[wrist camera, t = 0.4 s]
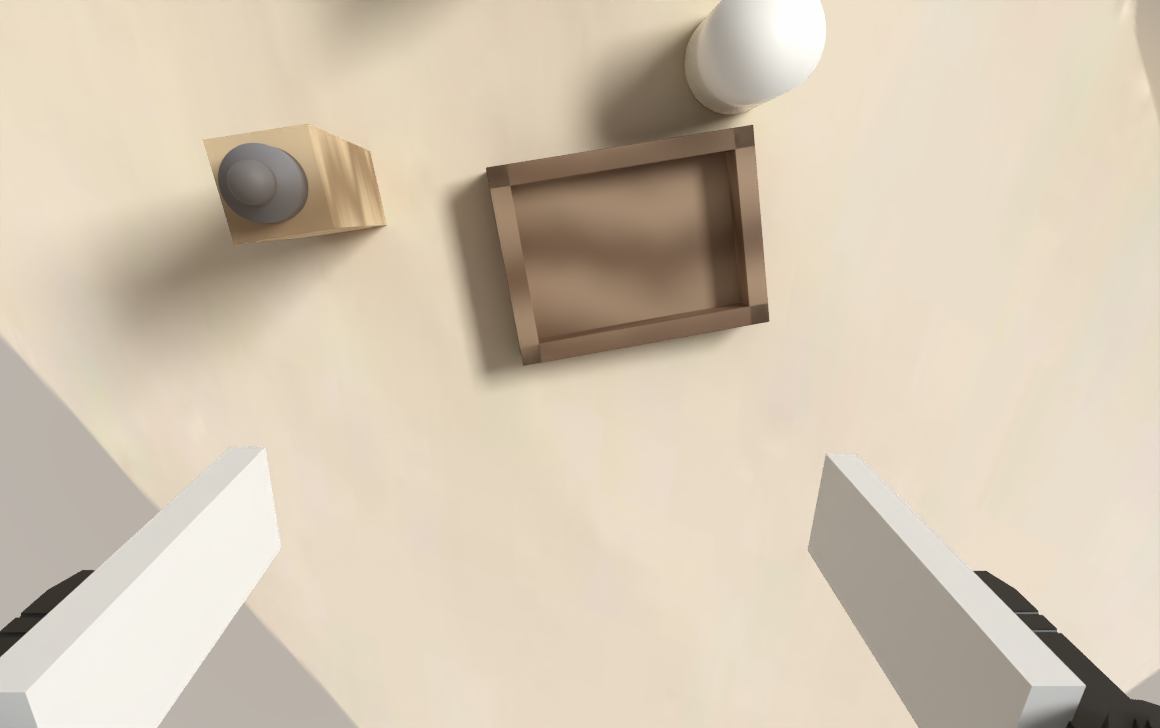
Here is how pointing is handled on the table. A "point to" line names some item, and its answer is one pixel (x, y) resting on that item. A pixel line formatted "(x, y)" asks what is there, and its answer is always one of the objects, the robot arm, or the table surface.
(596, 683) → the table surface
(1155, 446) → the table surface
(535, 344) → the tray
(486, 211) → the table surface
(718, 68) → the white pillar candle
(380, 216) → the pepper mill
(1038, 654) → the robot arm
